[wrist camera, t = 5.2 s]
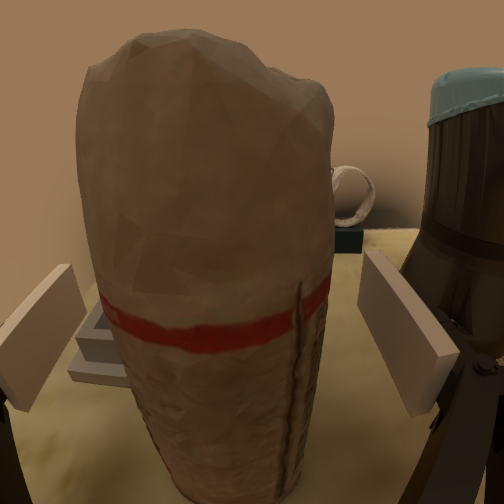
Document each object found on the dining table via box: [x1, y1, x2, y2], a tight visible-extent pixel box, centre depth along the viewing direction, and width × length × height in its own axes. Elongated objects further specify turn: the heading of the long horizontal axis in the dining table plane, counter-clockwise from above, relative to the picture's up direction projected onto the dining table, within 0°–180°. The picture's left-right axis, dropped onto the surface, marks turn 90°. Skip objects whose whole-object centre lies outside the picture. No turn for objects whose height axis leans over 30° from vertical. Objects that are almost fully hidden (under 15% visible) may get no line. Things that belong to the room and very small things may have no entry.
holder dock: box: [67, 299, 131, 388], centre depth 28 cm, size 17×17×4 cm
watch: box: [331, 166, 375, 253], centre depth 41 cm, size 6×8×11 cm
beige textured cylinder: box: [76, 29, 335, 504], centre depth 12 cm, size 8×8×20 cm
